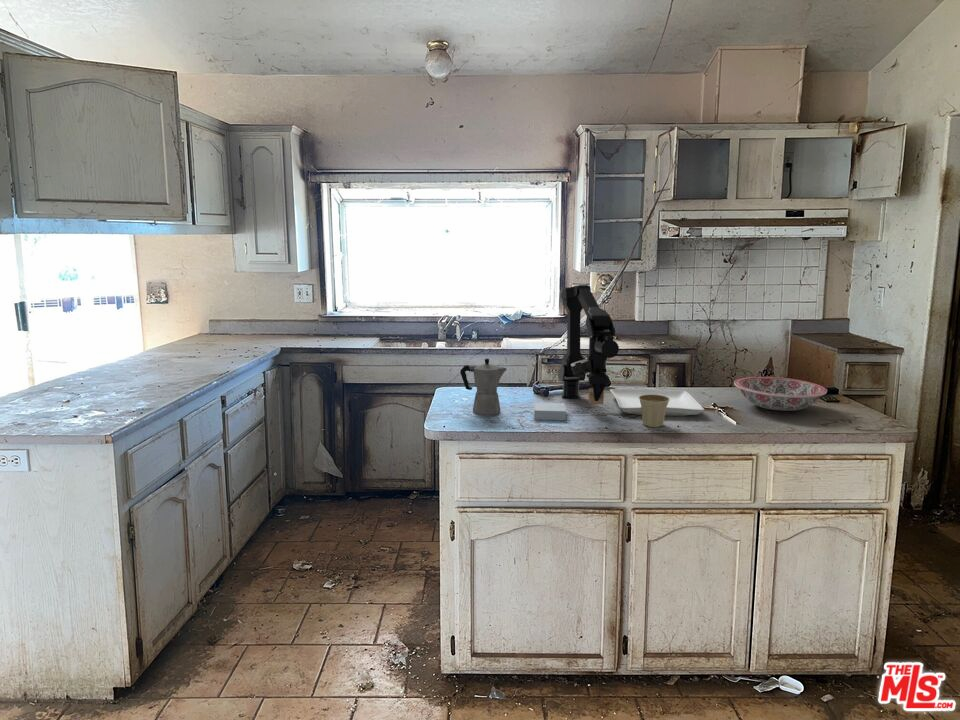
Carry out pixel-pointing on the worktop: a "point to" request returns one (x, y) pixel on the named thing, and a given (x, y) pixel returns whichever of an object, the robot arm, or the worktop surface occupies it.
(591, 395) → the walnut block
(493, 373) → the coffeepot
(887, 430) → the worktop surface
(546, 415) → the base slab
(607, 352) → the robot arm
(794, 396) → the ceramic bowl
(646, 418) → the flower pot
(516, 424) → the worktop surface
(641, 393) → the square plate
